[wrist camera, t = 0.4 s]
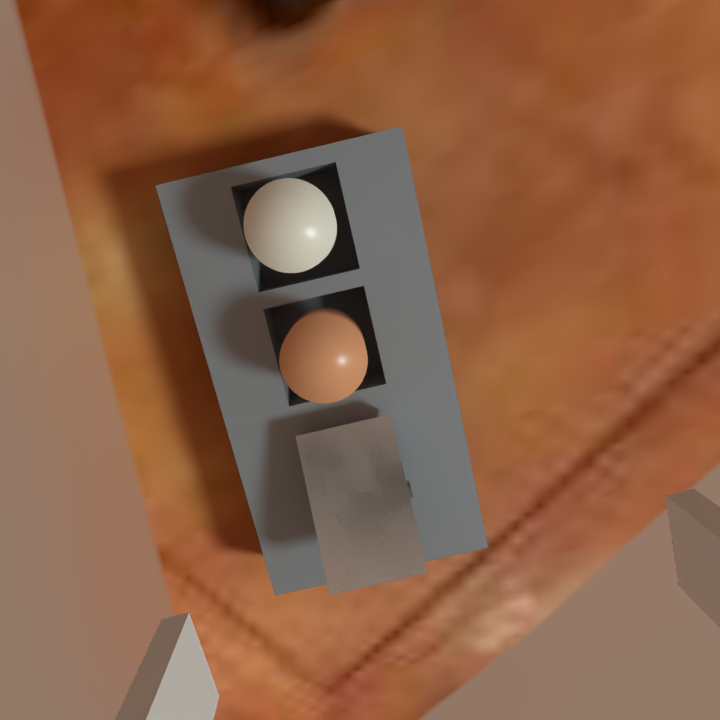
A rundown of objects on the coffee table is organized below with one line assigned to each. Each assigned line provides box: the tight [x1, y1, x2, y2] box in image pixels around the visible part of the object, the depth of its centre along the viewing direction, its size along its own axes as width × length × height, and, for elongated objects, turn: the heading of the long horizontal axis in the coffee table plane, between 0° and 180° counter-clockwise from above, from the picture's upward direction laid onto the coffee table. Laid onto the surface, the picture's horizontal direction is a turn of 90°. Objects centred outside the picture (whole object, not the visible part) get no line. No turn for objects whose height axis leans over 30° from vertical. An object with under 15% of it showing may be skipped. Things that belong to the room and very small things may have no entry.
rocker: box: [296, 414, 428, 595], centre depth 33 cm, size 9×6×2 cm, turn 13°
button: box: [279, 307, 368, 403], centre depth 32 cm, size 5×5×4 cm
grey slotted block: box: [155, 126, 488, 596], centre depth 36 cm, size 26×14×6 cm, turn 13°
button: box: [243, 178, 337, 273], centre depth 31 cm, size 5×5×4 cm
